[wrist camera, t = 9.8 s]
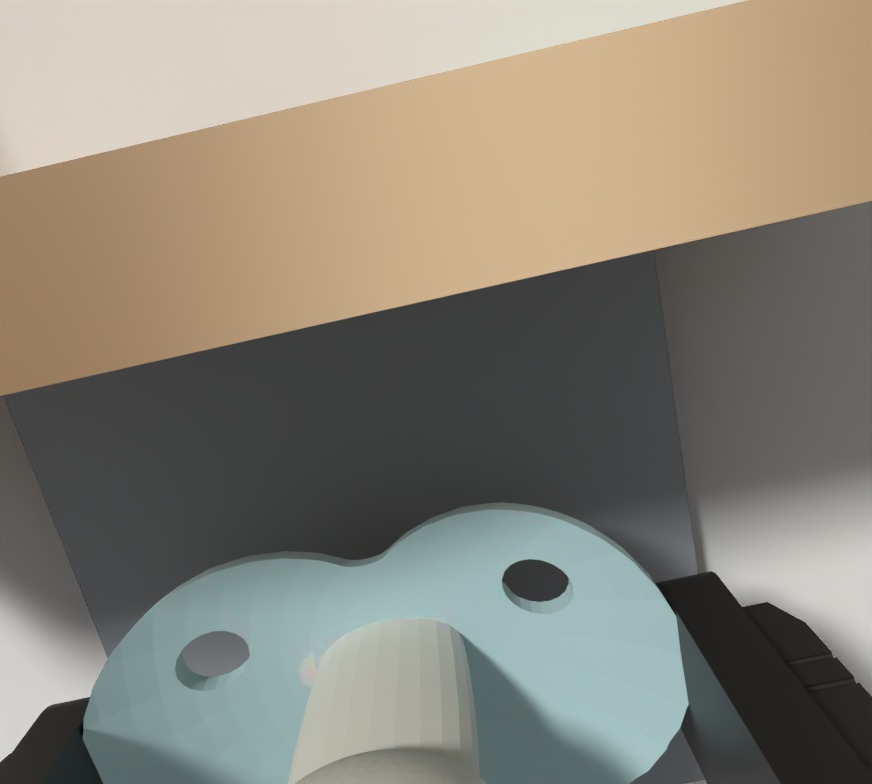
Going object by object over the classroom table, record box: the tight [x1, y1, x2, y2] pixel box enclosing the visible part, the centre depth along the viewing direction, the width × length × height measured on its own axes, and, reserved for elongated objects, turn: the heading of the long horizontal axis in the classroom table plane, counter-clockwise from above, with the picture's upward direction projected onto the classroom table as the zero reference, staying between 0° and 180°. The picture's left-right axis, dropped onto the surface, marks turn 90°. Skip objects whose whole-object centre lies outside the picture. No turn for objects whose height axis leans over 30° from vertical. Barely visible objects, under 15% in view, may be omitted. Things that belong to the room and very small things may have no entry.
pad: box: [4, 250, 705, 784], centre depth 12 cm, size 10×10×1 cm
